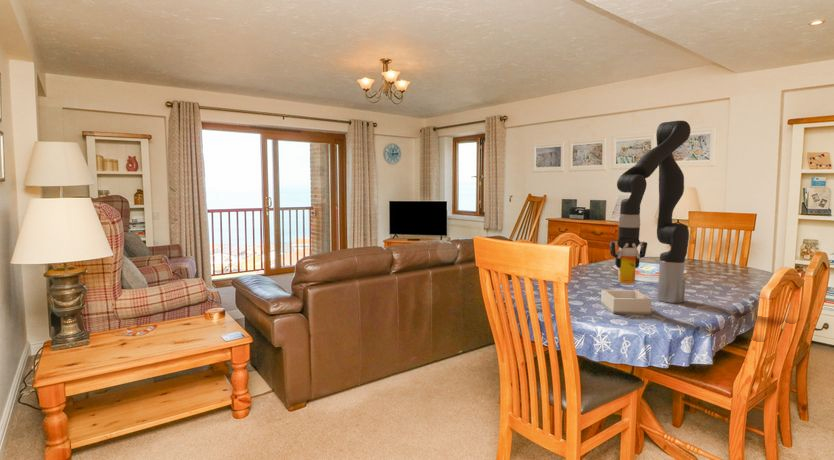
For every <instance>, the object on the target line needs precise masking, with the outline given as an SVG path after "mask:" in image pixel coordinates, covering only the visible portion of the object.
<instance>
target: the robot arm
mask: <svg viewBox="0 0 834 460" xmlns="http://www.w3.org/2000/svg"><path fill="white" fill-rule="evenodd" d="M690 136H691V124H689V123H688V122H687V121H686V120H674V121H664V122H661V123H660V124H659V125H658V126H657V128H656V137H655V139H656V146H655V147H653V148H652V149H650V150H648V151H647V152H646V153H645V154H643V155H642V156H641V158H640V159H638V161H637V162H636V164H634V165H633V166H632V167H630V168H629V169H628V170H626V171H625V172H623V173H622V174H621V175H620V176H619V177H618V180H617V181H616V188H617V189H618V191H619V192H621V193H628V194H629V193H630V195H629V198H625V199H622V200H621V201H620V208H619V209H620V211H619V219H618V233H617V238H618V239H617V240H616V241H610V242H609V250H610V251H609V253H610V256H611V257H612V258H615V267H617V268H618V269H619V268H620V267H621V259H620V258H621V256H622V253H623V250H624V247H626V248H635V249H636V267H635V269H638V268H639V267H640V261H641V259H642V258H645V256H646V253H647V248H648V242H646V241H640V230H641V229H640V228H641V227H640V226H641V217H640V216H641V203H642V201H643V198H644V195H645V192H646V190H647V179H648V178H649V177H651V176H652V174H653V173H654V172H655V171H656V169H657V168H658V196H659V197H658V214H657V222H656V223H657V226H656V239H657V240H658V242H659V243H661V244H665V245H670V246H671V247H670V249H669V250H668V251H665V252H661V253H660V254H659V267H658V282H657V283H658V284H657V285H658V286H657V298H656V299H657V300H658V301H661V302H664V303H669V304H680V303H685V292H686V283H687V282H686V279H684V277H685V274H684V273H685V261H686V257H687V254H688V246H689V239H690V231H689V228H688V226H687V225H686V224H683V223H677V222H676V223H675V222H674V223H673V213H674V209H675V207H676V206H677V204H678V203H679V202H680V200H681V198H682V196H683V194H684V192H685V176H684V175H685V174H684V173H683V170H682V169H681V167H680V166H679V164H678V163H677V161H676V159H675V158H674V154H673V153H674V152H675V151H677V149H678V148H680V147H681V146H682V145H684V144H685V142H687V140H688V139H689V137H690ZM617 245H618V249H617V251H616V248H617ZM638 247H640V249H639V251H638ZM620 248H621V249H622V250H621V251H620Z"/></svg>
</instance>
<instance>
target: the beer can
mask: <svg viewBox="0 0 834 460" xmlns="http://www.w3.org/2000/svg"><path fill="white" fill-rule="evenodd" d="M621 250H622V249H621V248H620V251H621ZM620 259H621V267H620V268H618V270H617V271H618V273H617V282H618V283H619V285H622V286H633V285H634V284H635V282H636V280H635V279H636V268H635V267H636V249H635V248H626V247H624V250H623V253H622V256H621V258H620Z"/></svg>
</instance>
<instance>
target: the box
mask: <svg viewBox="0 0 834 460" xmlns="http://www.w3.org/2000/svg"><path fill="white" fill-rule="evenodd" d="M600 293H601V295H600V297H601V299H600V300H601V301H600V305H602V306H603V307H605V309H607V310H608V311H609V312H610V313H611V314H613V315H644V314H647V315H648V316H649V315H650V316H651V314H652V313H651V312H652V311H651V310H652V299H651V298H650V297H648V296H646V295H644V294H643V293H641V292H640V291H638V290H637V289H634V290H633V289H632V290H631V289H622V290H621V289H601V292H600Z"/></svg>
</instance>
